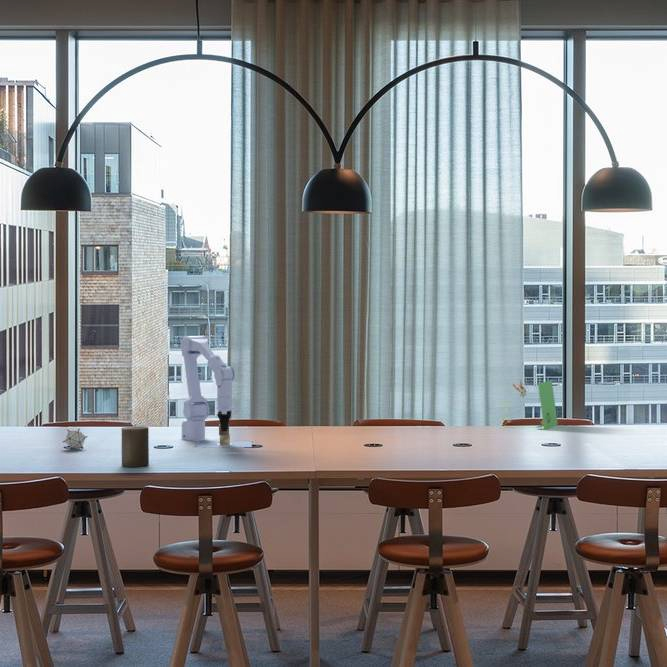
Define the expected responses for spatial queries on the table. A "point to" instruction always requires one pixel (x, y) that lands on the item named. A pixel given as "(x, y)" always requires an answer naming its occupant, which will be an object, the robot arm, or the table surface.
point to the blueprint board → (217, 444)
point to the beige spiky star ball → (75, 439)
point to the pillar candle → (135, 446)
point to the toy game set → (543, 404)
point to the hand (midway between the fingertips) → (224, 430)
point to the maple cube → (225, 439)
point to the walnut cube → (223, 431)
